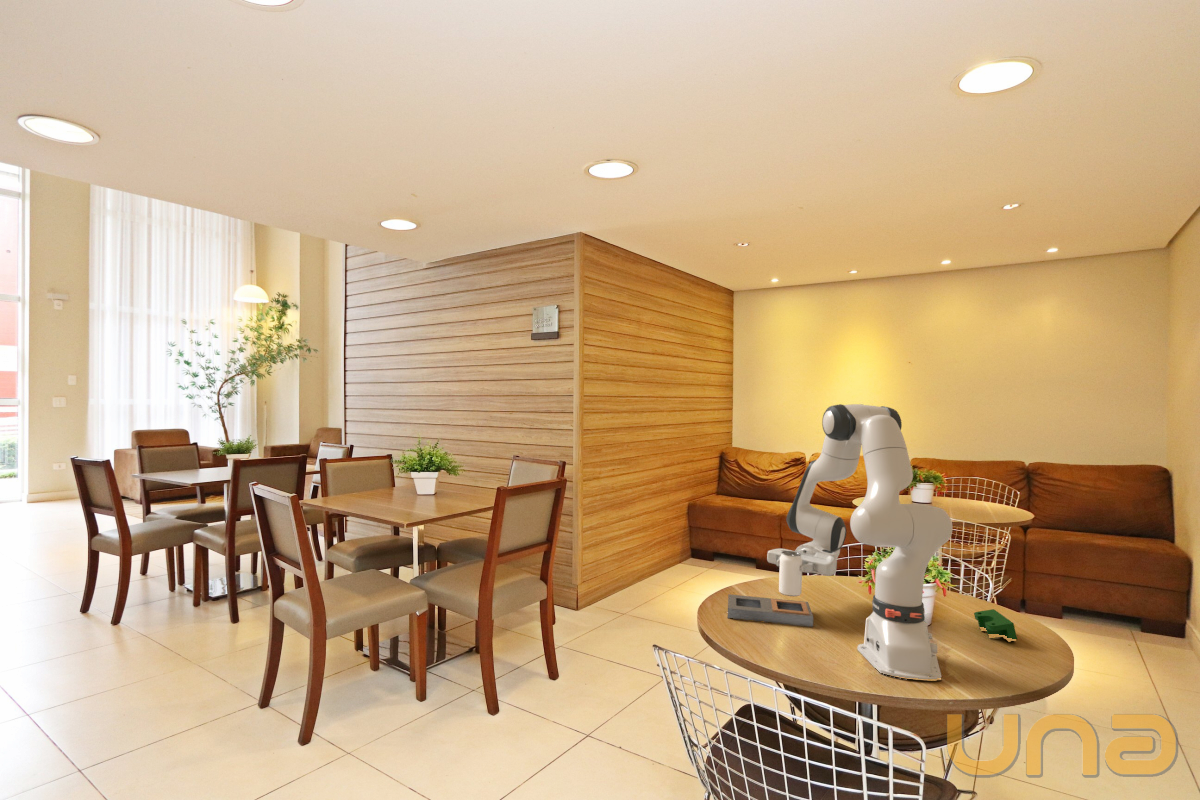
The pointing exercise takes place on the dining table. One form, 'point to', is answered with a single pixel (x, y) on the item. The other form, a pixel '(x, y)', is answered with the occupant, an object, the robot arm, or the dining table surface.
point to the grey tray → (770, 610)
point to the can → (790, 573)
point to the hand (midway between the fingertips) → (789, 566)
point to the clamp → (995, 623)
